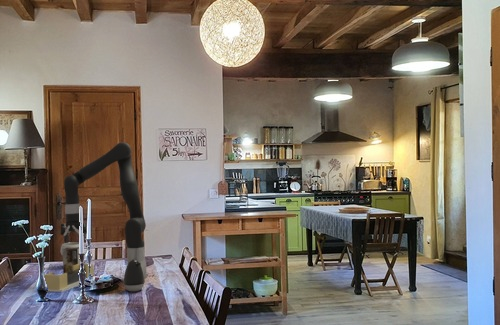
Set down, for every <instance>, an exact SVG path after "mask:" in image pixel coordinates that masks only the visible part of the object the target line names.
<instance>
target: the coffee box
mask: <svg viewBox="0 0 500 325" xmlns="http://www.w3.org/2000/svg"><path fill="white" fill-rule="evenodd" d="M78 253H79V247H68V248H65V249H63V255H62V266H63V267H62V269H63V270H62V272H63V273H67V272H70V271H73V265H76V264H80V260H79V255H78ZM63 273H62V274H63Z"/></svg>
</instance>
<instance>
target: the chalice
mask: <svg viewBox="0 0 500 325" xmlns="http://www.w3.org/2000/svg"><path fill="white" fill-rule="evenodd" d="M68 247H79V241H77V242H76V241H75V242H74V241H71V242H70V241H69V242H68V243H65V242H64V243H62V244H61V247H60V254H61V256H63V249H65V248H68Z"/></svg>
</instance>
